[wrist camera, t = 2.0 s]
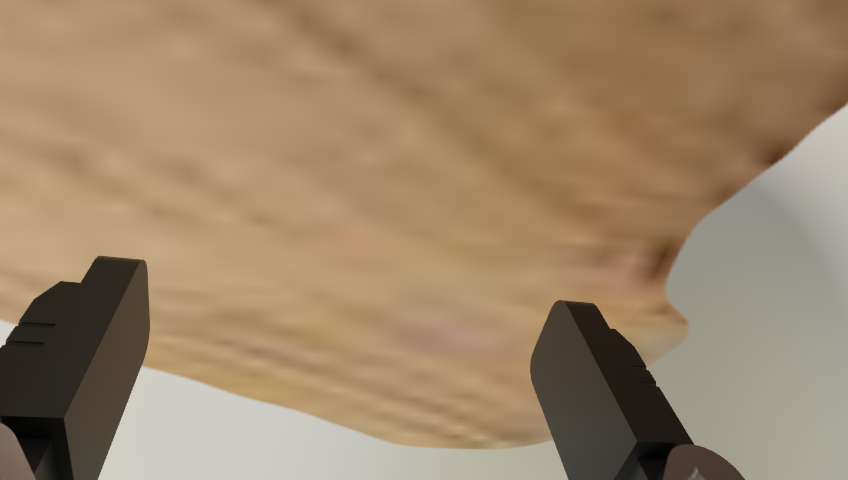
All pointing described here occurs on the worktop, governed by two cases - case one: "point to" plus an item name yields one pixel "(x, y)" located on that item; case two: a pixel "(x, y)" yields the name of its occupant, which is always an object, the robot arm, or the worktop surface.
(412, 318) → the worktop surface
